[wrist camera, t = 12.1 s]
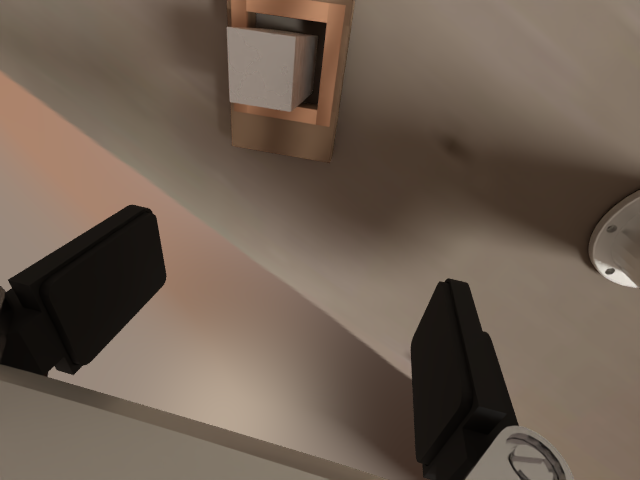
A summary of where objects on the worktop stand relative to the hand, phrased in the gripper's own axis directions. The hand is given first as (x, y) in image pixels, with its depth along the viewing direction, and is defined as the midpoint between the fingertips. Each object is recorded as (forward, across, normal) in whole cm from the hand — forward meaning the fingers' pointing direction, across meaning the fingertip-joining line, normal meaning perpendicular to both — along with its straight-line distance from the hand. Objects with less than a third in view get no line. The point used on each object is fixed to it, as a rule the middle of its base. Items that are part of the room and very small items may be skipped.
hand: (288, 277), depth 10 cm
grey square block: (+24, +7, -4) cm, 25 cm away
